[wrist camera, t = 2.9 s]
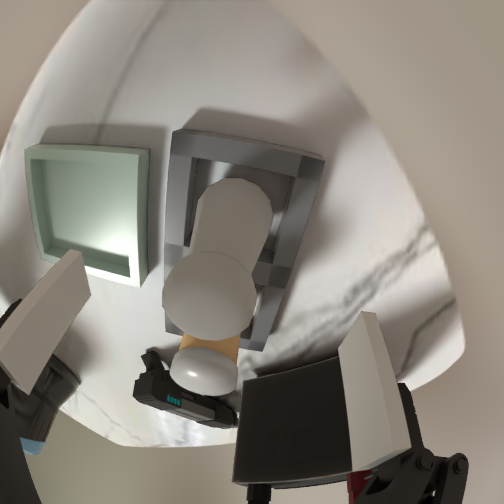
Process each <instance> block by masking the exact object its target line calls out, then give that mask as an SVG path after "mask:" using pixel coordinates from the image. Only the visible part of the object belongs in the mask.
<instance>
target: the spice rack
mask: <svg viewBox="0 0 504 504" xmlns="http://www.w3.org/2000/svg"><path fill="white" fill-rule="evenodd" d="M198 158H202V159H208V160H214V161H220V162H226V163H231V164H237V165H242V166H247V167H252V168H257V169H262V170H267V171H271V172H276V173H281V174H285V175H289V176H293V177H292V181H291V185H290V188H289V192H288V196H287V200H286V204H285V208H284V211H283V215H282V219H281V223H280V226H279V230H278V234H277V238H276V241H275V245H274V249H273V252H272V251H267V250H262V251H261V253H260V255H259V258H258V260H257V262H256V265H255V267H254V269H253V271H252V274H251V276H252V279H253V282H254V284H257V285H263V288H262V292H261V295H260V299H259V302H258V306H257V309H256V313H255V316H254V320H253V323H252V326H248V327H247V328H246V329H245V330H243V331H242V332H241V333H240V334H238V335H237V336H234V337H230V338H226V339H222V340H218V341H213V340H202V339H199V338H196V337H193V336H191V335H188V334H186V333H184V332H183V331H182V330H181V329H180V328H178V327H177V326H176V325H175V324H174V323H173V322H172V321H171V320H170V319H169V317H168V315H167V313H166V312H165V328H166V332H168V333H172V334H176V335H180V336H183V338H182V341H181V345H180V348H179V351H178V352H177V353H176V354H175V355H174V358H173V361H172V364H171V368H170V375H171V377H172V379H173V380H174V381H175V382H176V383H177V384H178V385H180V386H181V387H183V388H185V389H187V390H189V391H192V392H194V393H198V394H202V395H210V396H218V395H224V394H228V393H230V392H232V391H233V390H234V389H235V388H236V385H237V377H238V368H237V366H236V365H237V357H238V349H239V348H243V349H249V350H255V351H261V352H263V349H264V346H265V344H266V341H267V338H268V335H269V333H270V330H271V327H272V325H273V322H274V319H275V316H276V314H277V311H278V308H279V305H280V302H281V299H282V297H283V294H284V291H285V288H286V285H287V282H288V279H289V276H290V273H291V270H292V267H293V264H294V261H295V258H296V255H297V252H298V249H299V246H300V243H301V240H302V237H303V234H304V230H305V227H306V224H307V221H308V218H309V214H310V211H311V208H312V205H313V201H314V198H315V195H316V191H317V188H318V184H319V181H320V177H321V174H322V170H323V167H324V163H325V160H324V159H323V158H322V157H321V155H317V154H313V153H309V152H306V151H302V150H298V149H293V148H289V147H285V146H281V145H276V144H271V143H267V142H262V141H257V140H252V139H246V138H241V137H235V136H229V135H223V134H217V133H210V132H203V131H196V130H188V129H179V130H176V131H173V132H172V141H171V150H170V159H169V170H168V182H167V196H166V213H165V239H164V283H165V280H166V279H167V277H168V275H169V274H170V272H171V271H172V269H173V268H174V266H175V265H176V264H177V262H178V261H179V260H180V259H182V258H183V257H186V256H188V254H189V248H190V243H191V238H192V235H189V234H190V223H191V213H192V203H193V194H194V185H195V177H196V169H197V161H198Z"/></svg>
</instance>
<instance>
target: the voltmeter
mask: <svg viewBox="0 0 504 504" xmlns="http://www.w3.org/2000/svg"><path fill="white" fill-rule="evenodd" d="M377 470H378V468H377V466H375V467H373V468H371V469H369V470H361V471H353V469H352V455H351V444H350V433H349V424H348V415H347V407H346V399H345V392H344V384H343V378H342V371H341V364H340V358H339V356H337V357H334V358H331V359H327V360H324V361H321V362H317V363H314V364H310V365H307V366H303V367H300V368H296V369H292V370H288V371H284V372H280V373H276V374H272V375H270V374H267V373H261V374H259V375H258V376H257V378H254V379H249V380H244V381H243V385H242V394H241V403H240V412H239V421H238V430H237V439H236V448H235V458H234V467H233V475H232V483H234V484H237V485H241V486H244V487H248V488H247V499H246V500H247V501H248V504H269V501H271V488H274V489H288V488H300V487H310V486H318V485H324V484H331V483H336V482H342V481H347V489H348V493H349V504H353V502H354V501H355V500H356V498H357V497H358V496H359V494H360V493H361V492H362V490H363V489H364V488H365V486H366V485H367V483H368V482H369V480H370V479H371V478H368V479H364V478H365V477H366V476H367V475H368V474H370V473H373V472H375V471H377Z"/></svg>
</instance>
